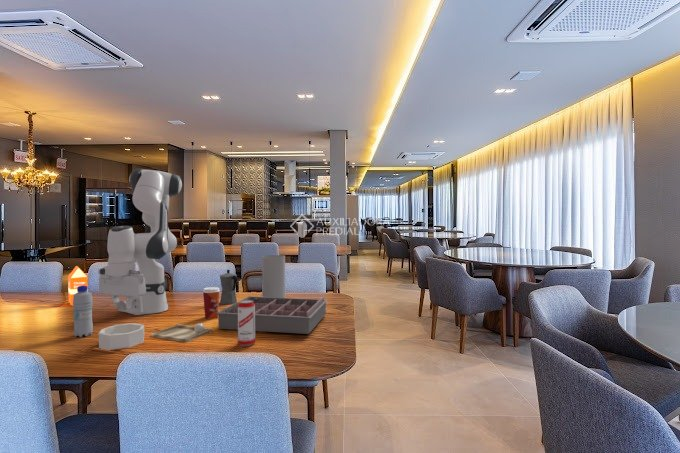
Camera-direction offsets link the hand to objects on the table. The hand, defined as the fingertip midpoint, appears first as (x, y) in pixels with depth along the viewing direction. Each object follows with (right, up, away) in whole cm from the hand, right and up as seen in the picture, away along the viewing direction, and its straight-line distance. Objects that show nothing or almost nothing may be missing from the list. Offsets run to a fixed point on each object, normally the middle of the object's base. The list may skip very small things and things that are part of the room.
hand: (122, 307), depth 139 cm
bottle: (-21, -14, +10) cm, 27 cm away
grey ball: (0, -2, 0) cm, 2 cm away
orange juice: (-62, -12, +65) cm, 91 cm away
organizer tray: (+52, -13, +27) cm, 60 cm away
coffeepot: (+20, -12, +65) cm, 70 cm away
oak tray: (+18, -13, +10) cm, 25 cm away
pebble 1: (-1, -11, 0) cm, 11 cm away
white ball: (+24, -13, +11) cm, 30 cm away
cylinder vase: (+44, -12, +70) cm, 83 cm away
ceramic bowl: (0, -14, 0) cm, 14 cm away
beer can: (+46, -14, 0) cm, 48 cm away
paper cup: (+21, -13, +35) cm, 43 cm away
